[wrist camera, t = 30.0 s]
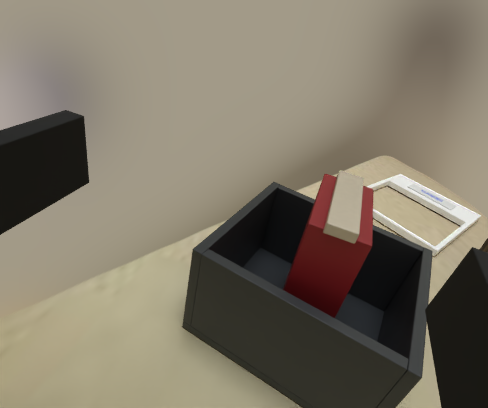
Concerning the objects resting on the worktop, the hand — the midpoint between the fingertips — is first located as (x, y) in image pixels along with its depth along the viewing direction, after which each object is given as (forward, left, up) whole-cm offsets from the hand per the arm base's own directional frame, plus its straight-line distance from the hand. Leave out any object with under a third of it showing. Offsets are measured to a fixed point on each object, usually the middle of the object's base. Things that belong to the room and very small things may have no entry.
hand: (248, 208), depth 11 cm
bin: (+2, +13, -18) cm, 23 cm away
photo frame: (+10, +45, -18) cm, 50 cm away
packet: (+2, +13, -18) cm, 22 cm away
